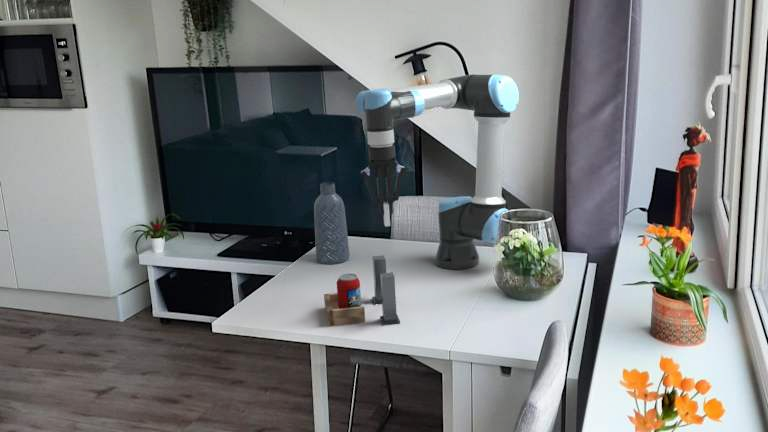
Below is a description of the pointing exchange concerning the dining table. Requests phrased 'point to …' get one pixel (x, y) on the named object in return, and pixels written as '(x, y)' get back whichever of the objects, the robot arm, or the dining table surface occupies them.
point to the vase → (330, 226)
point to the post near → (388, 299)
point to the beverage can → (348, 291)
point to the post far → (378, 277)
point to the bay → (342, 312)
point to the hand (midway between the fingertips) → (387, 224)
